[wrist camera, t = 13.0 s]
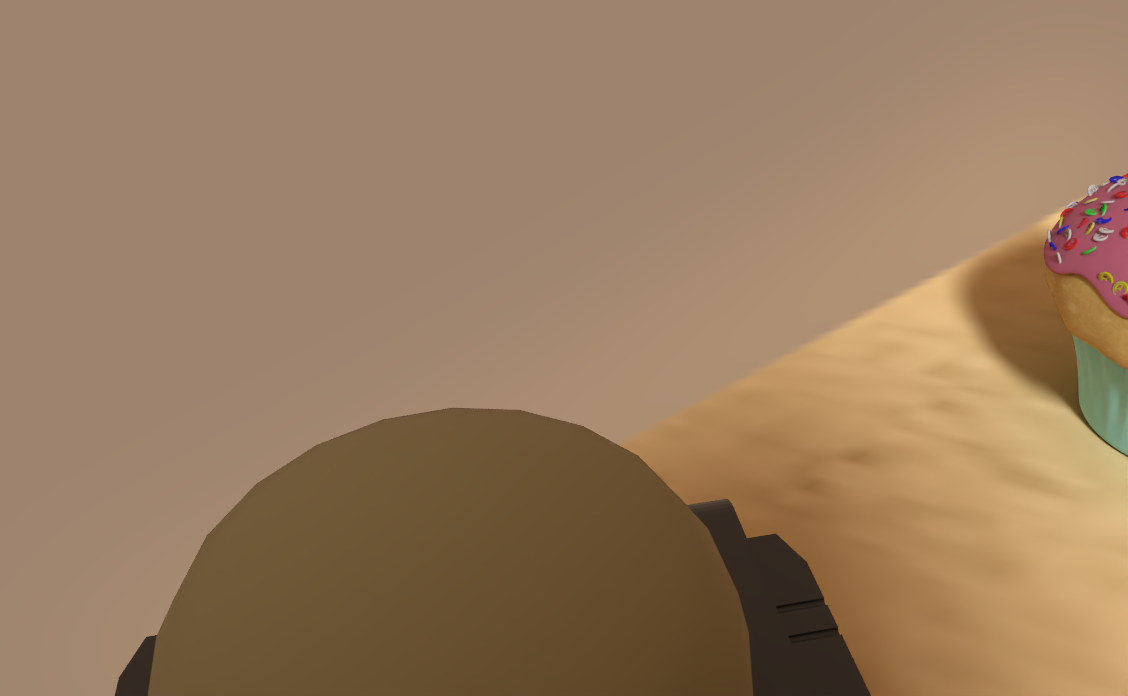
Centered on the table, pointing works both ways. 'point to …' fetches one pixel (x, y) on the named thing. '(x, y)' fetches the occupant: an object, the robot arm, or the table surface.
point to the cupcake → (1096, 301)
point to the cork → (457, 573)
